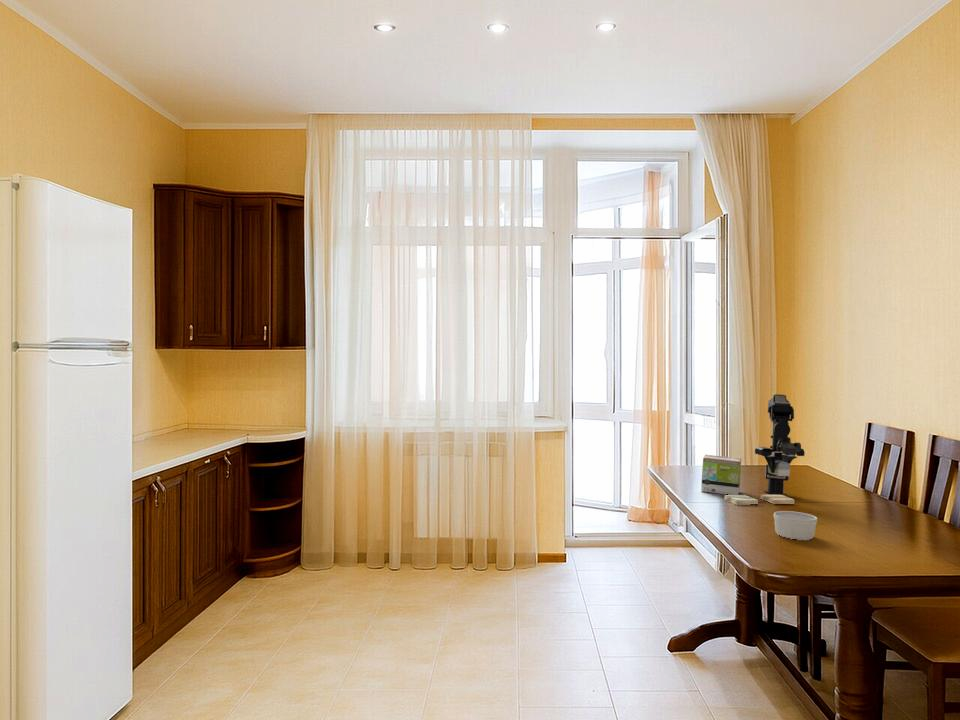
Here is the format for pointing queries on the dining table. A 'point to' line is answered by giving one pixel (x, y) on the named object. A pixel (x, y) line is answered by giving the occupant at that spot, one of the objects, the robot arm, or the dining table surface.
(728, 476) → the tea box
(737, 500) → the stand
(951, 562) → the dining table surface
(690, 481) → the dining table surface
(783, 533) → the ramekin
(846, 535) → the dining table surface
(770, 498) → the stand
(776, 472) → the block
